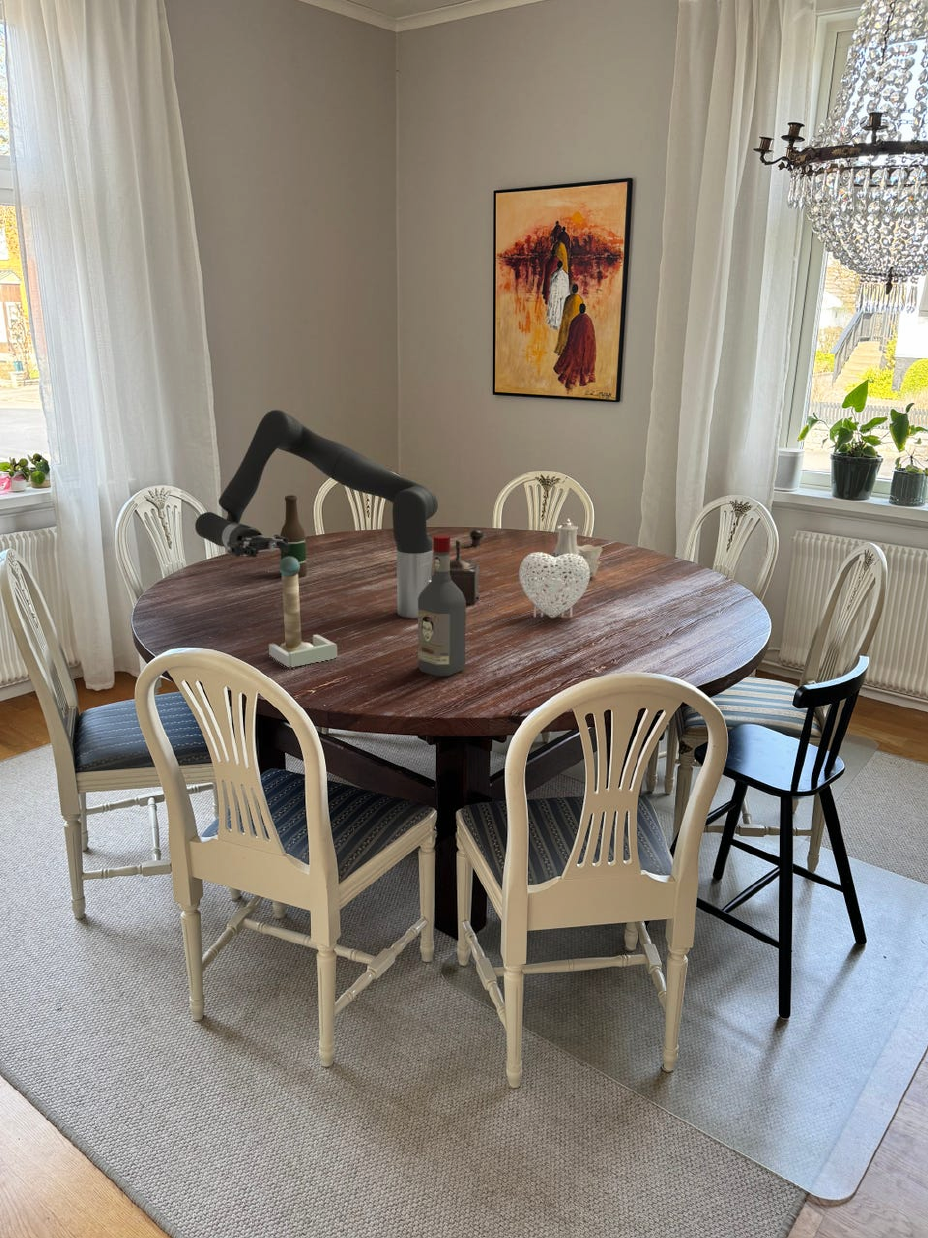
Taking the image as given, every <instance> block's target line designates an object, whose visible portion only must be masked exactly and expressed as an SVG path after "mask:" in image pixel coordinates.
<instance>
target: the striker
mask: <svg viewBox="0 0 928 1238" xmlns="http://www.w3.org/2000/svg"><path fill="white" fill-rule="evenodd" d="M280 560H281V559H280ZM278 568H279V572H280V573H281V583H282V585H281V586H282V601H283V605H282V606H283V621H284V622H283V623H284V640H285V641H284V642H283V643H282V644H280V646H279V647H280V648H282V649H284V650H285V651H287V652H293V651H297V650H298V647H299V646H300V645H301V644H303V643H305V642H304V641H302V629H301V627H302V626H301V611H300V608H301V607H300V591H299V590H300V589H299V586H300V585H299V578H298V574H297V573H298V572H299V570H300V564H299V562H298V560H297V559H295V558H294V557H285V558H283V559H282V560H281V561H280V562H279V566H278Z"/></svg>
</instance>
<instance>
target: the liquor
mask: <svg viewBox="0 0 928 1238" xmlns="http://www.w3.org/2000/svg"><path fill="white" fill-rule="evenodd" d="M432 538H433V539H432V542H433V580H432V581H431V582H430V583H429V584H428V585H427V586H426V587H425V588H424V590H423V591H422V592H421V593H420V594H419V597H418V618H417V664H418V669H419V671H420V672H421V673H425V674H428V675H431V676H434V677H438V678H439V677H451V676H453V675H455V674H458V673H460V672H462V671H464V669H465V668H466V625H467V624H466V621H467V620H466V618H467V617H466V615H467V613H466V611H467V609H466V608H467V605H466V601H465V598H464V595H463V593H462V591H461V590H460V589H459V588H458V587H457V586H456V585H455V584H454V583H453V581H452V580H451V576H450V561H451V560H450V557H451V556H450V555H451V554H450V553H451V536H450V535H448V534H435V535H433V537H432Z"/></svg>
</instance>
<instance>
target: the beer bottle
mask: <svg viewBox="0 0 928 1238" xmlns="http://www.w3.org/2000/svg"><path fill="white" fill-rule="evenodd" d="M284 501H285V521H284V524H283V526H282V528H281V531H280V535H279V536H283V537H286V538H289V540H288V541H289V545H290V550H289V552H283V551H281V550H280V560H282V559H283V558H285V557H294V558H295V559H297V560H298V562H299V564H300V570H299V572H298V573H297V574H298V579H300V578H304V577H307V549H306V548H307V546H306V534H305V533H306V532H305V529H304V528H303V526H302V524H301V523H300V520H299V516H298V505H297V503H298V502H297V501H298V497H297V496H296V495H293V494H291V495H285V497H284Z"/></svg>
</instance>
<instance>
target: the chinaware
mask: <svg viewBox="0 0 928 1238" xmlns="http://www.w3.org/2000/svg"><path fill="white" fill-rule="evenodd" d="M578 529H579V526H577V525H574V523H573V522H572V521H571V520H570V518H567V519H566V520H565V522H563V523H562V525H558V526H557V530H558V538H557V543H556V545H555V549H554V550H553V552H552V553H551V554H550V556H552V557H558V556H561V555H564V554H577V555H579V556H581V557H582V558H583V559H584V560H585V561H586V562H587V564H588V566H589V572H590V576H589V580H591V577H592V576H595V574H596V573H597V571H598V568H599V565H600V564H602V561H601V560H599V558H600V556H601V553H602V552H603V547H602V546H600V545H596V546H594V545H591V544H584V545H582V546H581V545H578V540H577V533H578ZM568 557H569V556H568ZM572 557H573V556H572ZM570 559H571V558H568V560H570ZM578 561H579V560H578ZM563 562H566V561H563ZM575 562H576V561H575ZM556 563H557V562H556ZM569 563H571V561H569ZM583 563H584V562H583ZM573 564H575V563H573ZM577 564H578V565H579V563H577ZM581 564H582V563H581ZM565 565H567V564H565ZM555 566H556V567H557V566H558V565H555ZM570 566H572V565H570ZM574 566H576V565H574ZM551 567H553V565H551ZM573 568H574V567H573ZM559 569H561V568H559ZM564 569H566V568H564ZM578 569H579V568H578ZM569 570H570V569H569ZM576 571H577V570H576ZM581 571H582V570H581ZM562 573H563V574H565V573H566V571H564V572H562ZM568 573H569V574H571V571H569V572H568ZM579 576H580V575H579ZM584 578H585V577H584ZM581 580H582V577H581Z"/></svg>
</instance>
